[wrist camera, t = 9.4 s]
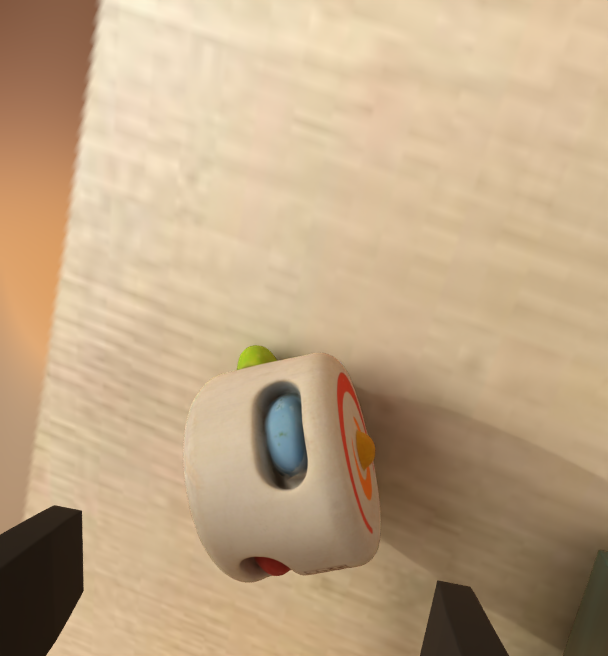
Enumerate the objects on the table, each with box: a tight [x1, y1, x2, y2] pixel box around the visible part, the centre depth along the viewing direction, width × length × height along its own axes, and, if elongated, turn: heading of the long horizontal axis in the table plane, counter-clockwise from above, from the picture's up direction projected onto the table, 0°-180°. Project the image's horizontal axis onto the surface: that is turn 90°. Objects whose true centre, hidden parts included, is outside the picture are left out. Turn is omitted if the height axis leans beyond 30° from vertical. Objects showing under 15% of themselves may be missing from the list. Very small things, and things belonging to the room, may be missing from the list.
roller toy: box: [183, 345, 381, 582], centre depth 15 cm, size 4×6×6 cm
